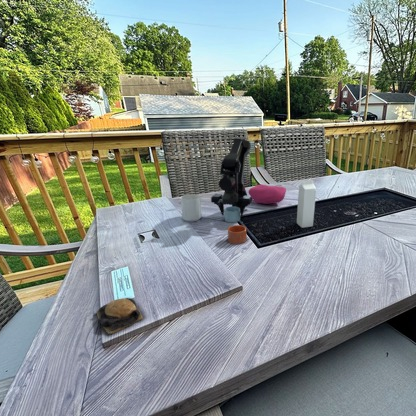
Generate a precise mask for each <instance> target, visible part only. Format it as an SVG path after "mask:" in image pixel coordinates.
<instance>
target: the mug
mask: <svg viewBox="0 0 416 416" xmlns="http://www.w3.org/2000/svg"><path fill="white" fill-rule="evenodd" d="M180 207H181V218H182V219H183V220H184V221H185V222H188V223H189V222H197V221H200V219H201V218H202V217H203V216H202V215H203V214H202V200H201V195H199V194H193V193H191V194H189V193H188V194H184V195H181V196H180Z"/></svg>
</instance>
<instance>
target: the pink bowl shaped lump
mask: <svg viewBox="0 0 416 416" xmlns="http://www.w3.org/2000/svg"><path fill="white" fill-rule="evenodd" d="M286 192H287V189H286V187H283V186H276V185H267V184H257V185H255V186H252V187H251V188H249V189H248V196H251V197H252V201H254V202H256V203H258V204H265V205H269V204H277V203H278V204H279V203H281V202H282V201H283V200H284V199H285V196H286Z"/></svg>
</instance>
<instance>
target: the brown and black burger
mask: <svg viewBox="0 0 416 416" xmlns="http://www.w3.org/2000/svg"><path fill="white" fill-rule="evenodd" d="M96 316H97V320H98V322H99V324H100V325H101V327H102V329H104V331H105V332H106V333H107V334H108V335H109V336H110V335H113V334H116V333H117V332H119V331H122V330H125V329H126V328H127V327H131V326H133V325H134V324H136V323H138V322H140V321H141V320H143V318H144V317H143V315H142V314H141V312H140V310H139V308H138V307H137V303H136V301H135V299H133V298H130V297H125V298H117V299H114V300H112V301H110V302H108V303H106V304H104V305H102V306H100V307H99V308H98V309H96Z"/></svg>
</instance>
